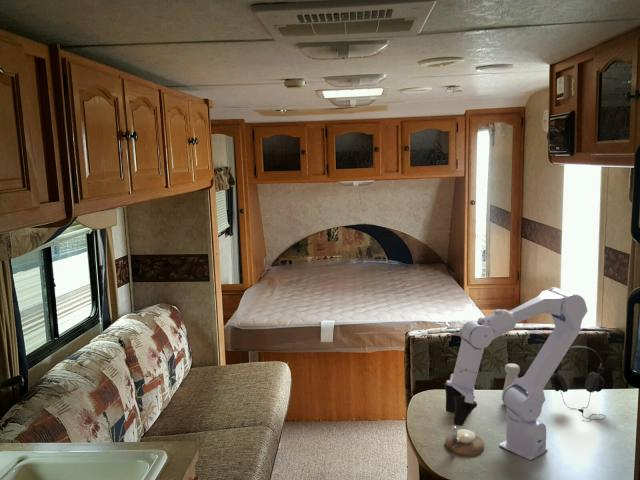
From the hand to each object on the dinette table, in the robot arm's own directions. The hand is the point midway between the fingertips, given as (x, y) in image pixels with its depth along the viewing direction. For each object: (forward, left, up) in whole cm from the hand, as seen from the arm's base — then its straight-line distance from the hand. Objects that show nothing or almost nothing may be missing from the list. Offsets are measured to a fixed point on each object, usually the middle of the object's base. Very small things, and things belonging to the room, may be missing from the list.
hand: (453, 418), depth 140 cm
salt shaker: (+7, -37, -11) cm, 39 cm away
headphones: (-9, -47, -11) cm, 49 cm away
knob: (+1, -5, -8) cm, 10 cm away
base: (+1, -6, -11) cm, 12 cm away
